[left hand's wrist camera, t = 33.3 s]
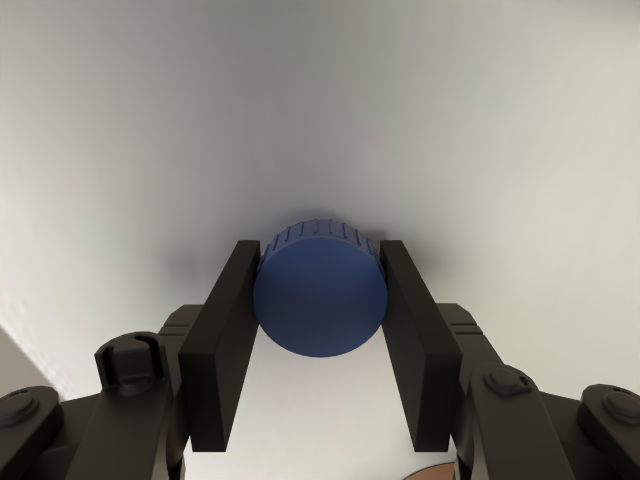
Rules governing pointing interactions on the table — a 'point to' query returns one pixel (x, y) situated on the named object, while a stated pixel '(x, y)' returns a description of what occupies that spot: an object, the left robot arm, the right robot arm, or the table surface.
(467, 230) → the table surface
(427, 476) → the bottle
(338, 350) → the cap
